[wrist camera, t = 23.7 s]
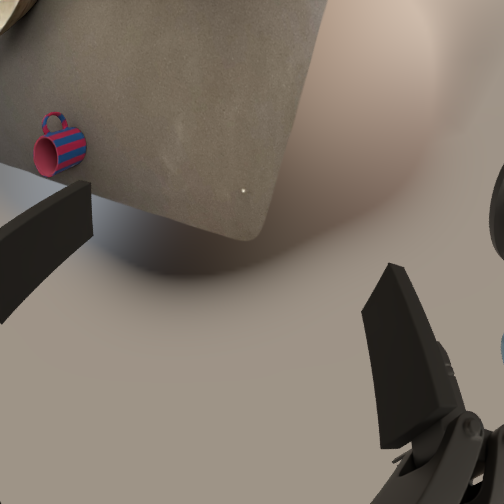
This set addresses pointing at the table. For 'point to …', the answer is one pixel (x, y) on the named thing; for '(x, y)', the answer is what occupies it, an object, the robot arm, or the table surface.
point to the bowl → (13, 12)
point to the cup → (58, 148)
